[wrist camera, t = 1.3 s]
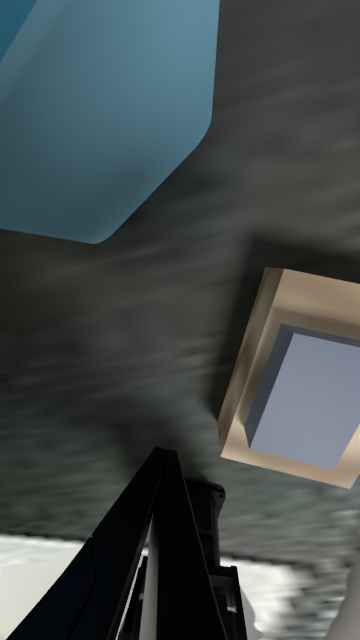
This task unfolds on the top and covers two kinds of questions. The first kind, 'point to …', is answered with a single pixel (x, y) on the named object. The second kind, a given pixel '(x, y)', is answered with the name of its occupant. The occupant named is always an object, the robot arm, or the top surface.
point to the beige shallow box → (265, 320)
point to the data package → (98, 107)
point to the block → (307, 397)
